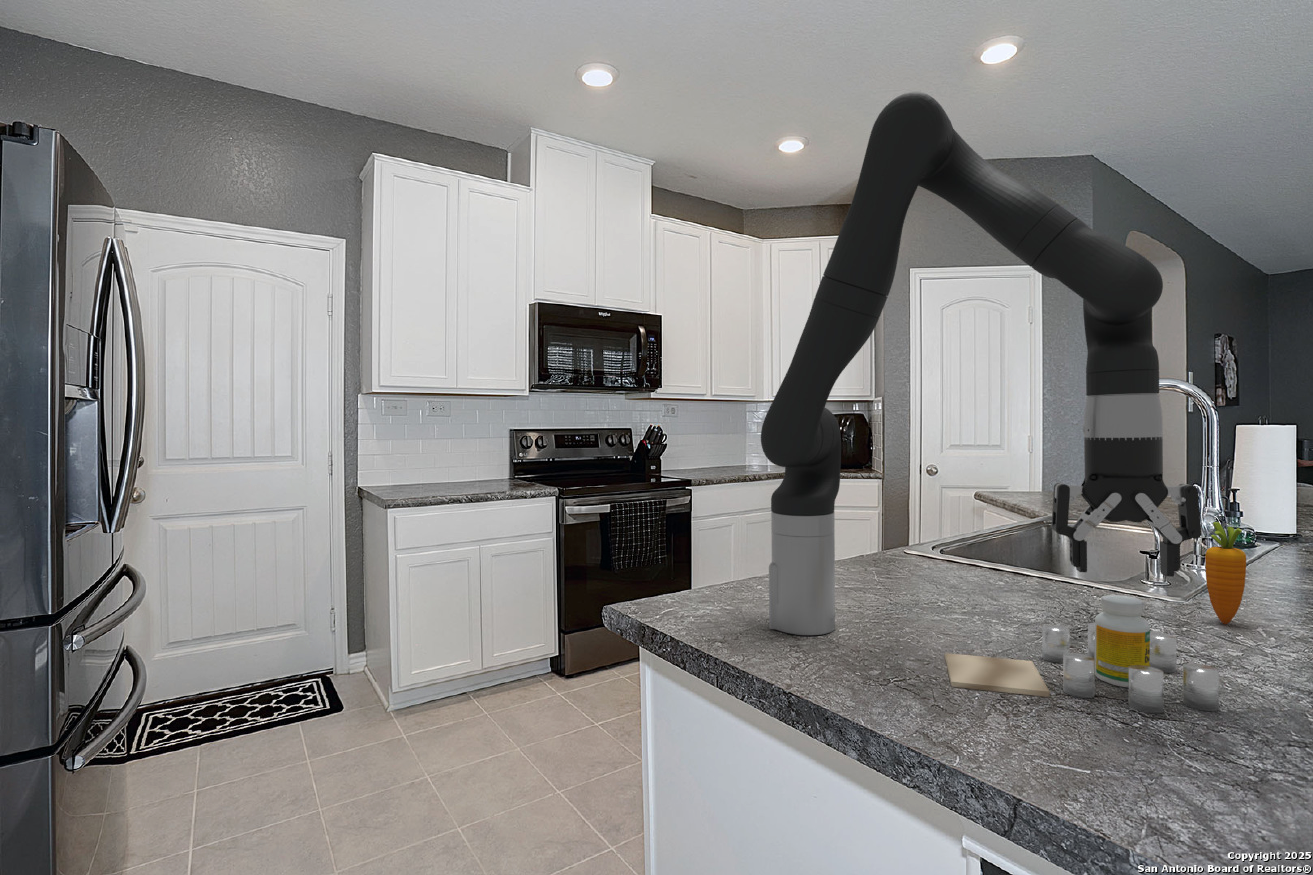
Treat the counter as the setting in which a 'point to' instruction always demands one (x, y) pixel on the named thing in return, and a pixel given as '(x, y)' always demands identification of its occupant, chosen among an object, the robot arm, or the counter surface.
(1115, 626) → the supplement bottle
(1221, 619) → the carrot
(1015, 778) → the counter surface
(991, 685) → the pad
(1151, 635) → the spacer posts
